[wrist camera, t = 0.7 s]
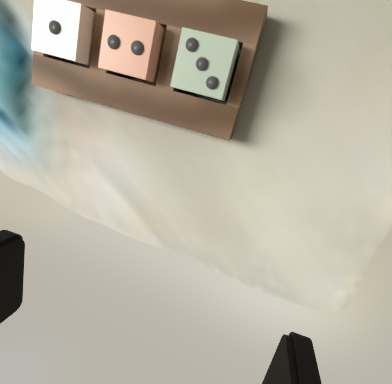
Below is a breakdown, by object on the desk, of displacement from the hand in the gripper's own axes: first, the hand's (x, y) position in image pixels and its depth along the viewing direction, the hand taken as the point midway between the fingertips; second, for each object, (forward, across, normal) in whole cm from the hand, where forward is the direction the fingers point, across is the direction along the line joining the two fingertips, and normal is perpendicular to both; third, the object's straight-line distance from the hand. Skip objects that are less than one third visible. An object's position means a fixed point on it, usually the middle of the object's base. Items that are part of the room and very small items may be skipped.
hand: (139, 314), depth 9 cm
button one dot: (+22, +19, -11) cm, 31 cm away
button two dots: (+22, +12, -10) cm, 27 cm away
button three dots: (+22, +4, -10) cm, 25 cm away
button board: (+23, +12, -10) cm, 28 cm away
